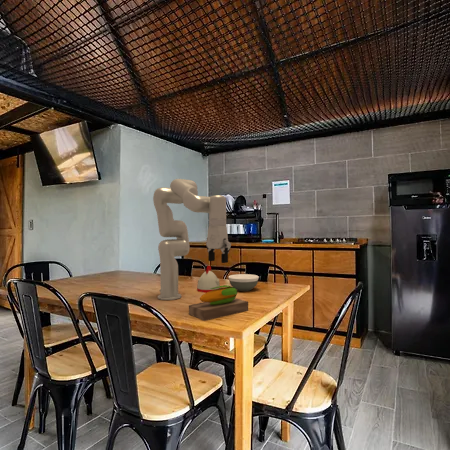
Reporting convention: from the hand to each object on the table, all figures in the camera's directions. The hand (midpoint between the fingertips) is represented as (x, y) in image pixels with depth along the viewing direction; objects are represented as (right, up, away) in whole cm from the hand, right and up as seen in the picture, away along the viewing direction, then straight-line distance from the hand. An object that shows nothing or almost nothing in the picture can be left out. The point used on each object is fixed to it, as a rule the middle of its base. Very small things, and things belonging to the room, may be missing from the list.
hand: (217, 261), depth 134 cm
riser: (+1, -22, -1) cm, 22 cm away
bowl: (+15, -23, +50) cm, 57 cm away
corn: (+1, -19, -1) cm, 19 cm away
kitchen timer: (-7, -24, +49) cm, 55 cm away
